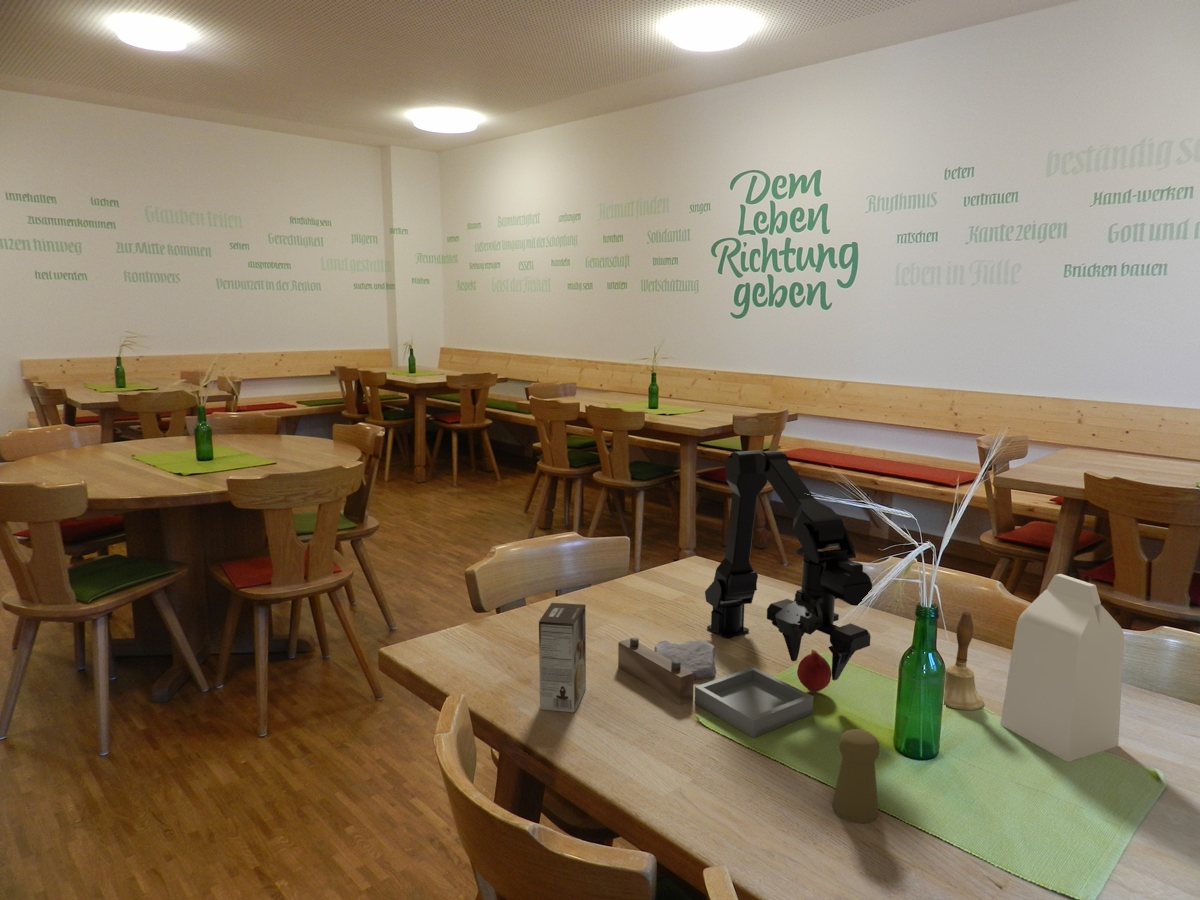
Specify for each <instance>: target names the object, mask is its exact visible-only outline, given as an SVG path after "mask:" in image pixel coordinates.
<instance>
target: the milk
mask: <svg viewBox="0 0 1200 900" xmlns="http://www.w3.org/2000/svg"><path fill="white" fill-rule="evenodd" d="M1124 647H1125V633H1124V630H1123V629H1122V627H1121V625H1120V624H1119V623H1118V622H1117V620H1115V618H1114V617H1113V616H1112V615H1111V614H1110V612H1108V611H1107V610H1106V608H1105V607H1104V606H1103V605H1102V601H1101V599H1100V595H1099V592H1098V588H1097V585H1096V584H1094V583H1090V582H1088V581H1084V580H1081V579H1077V578H1075V577H1071V576H1068V575H1065V574H1063V573H1057V574H1054V575H1053V577H1052V579H1051V581H1050V582H1049V584H1048V585H1047V586H1046V589H1045V590H1044V591H1042V592H1041V593H1040V595H1038V596H1037V598H1035V599H1034V600H1033V601H1032V602H1031V603H1030V604H1029V606H1027V607H1026V608H1025V609H1024V611H1022V613H1021V614H1020V615H1019V617H1018V619H1017V622H1016V625H1015V631H1014V638H1013V645H1012V650H1011V654H1010V655H1011V657H1010V662H1009V667H1008V668H1009V669H1008V675H1007V681H1006V687H1005V692H1004V700H1003V705H1002V710H1001V718H1000V721H999V722H1000V726H1001V727H1004V728H1005V729H1007V730H1009V731H1011V732H1013V733H1015V734H1017V735H1018V736H1020V737H1022V738H1024V739H1025V740H1027V741H1029V742H1031V743H1033V744H1034V745H1036V746H1038V747H1040V748H1041V749H1043V750H1046V751H1047V752H1048V753H1051V754H1053V755H1055V756H1056V757H1057V758H1060V759H1062V760H1063V761H1065V762H1066V763H1067V762H1071V761H1075V760H1077V759H1078V760H1079V759H1080V758H1084V757H1088V756H1090V755H1094V754H1098V753H1100V752H1103V751H1106V750H1111V749H1113V748H1117V747H1119V743H1120V742H1119V740H1120V739H1119V738H1120V723H1121V722H1120V720H1121V707H1122V706H1121V705H1122V704H1121V703H1122V702H1121V701H1122V688H1123V687H1122V683H1123V668H1124V667H1123V666H1124V649H1125V648H1124Z"/></svg>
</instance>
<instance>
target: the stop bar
mask: <svg viewBox="0 0 1200 900" xmlns="http://www.w3.org/2000/svg"><path fill="white" fill-rule="evenodd" d="M639 641H640V640H639V638H638V637H631V638H628V639H624V640H621V641H618V650H617V651H618V654H617V655H618V657H617V658H618V660H617V661H618V663H617V664H618V667H617V668H619V669H621V670H622V671H625V672H626V673H628V674H629V675H631V676H633V677H634V678H636V679H638V680H639V681H641V682H642V683H644V684H646V685H647V686H649V687H650V688H652V689H654V690H655V691H657V692H659V693H661V694H662V695H664V696H665V697H666V698H668V699H670V700H672V701H674V702H675V703H677V704H679V705H682V704H685V703H688V702H691V701H693V700H694V680H695V678H694V673H693V672H691V671H689V670H688V669H686V668H684V667H682V666H681V662H680V661H677V660H674V661H671V660H669V659H668V658H666V657H664V656H662V655H660V654H659V653H657V652H655V651H654V650H653V649H651V648H650V647H648V646H646V645H644V644H642V643H641V642H639Z"/></svg>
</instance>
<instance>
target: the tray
mask: <svg viewBox="0 0 1200 900" xmlns="http://www.w3.org/2000/svg"><path fill="white" fill-rule="evenodd" d="M814 697H815V696H813V695H811V694H809V693H807V692H805V691H803V690H801V689H799V688H797V687H796V686H793V685H791V684H789V683H787V682H785V681H783V680H782V679H779V678H777V677H775V676H773V675H771V674H769V673H767V672H765V671H763V670H761V669H759V668H757V667H755V666H751V667H748V668H745V669H742V670H740V671H739V670H738V671H737V672H733V673H730V674H727V675H724V676H722V677H719V678H716V679H713V680H710V681H707V682H705V683H702V684H699V685H697V686H694V703H695V705H698V706H699V707H701V708H703V709H704V710H706V711H708V712H710V713H711V714H713V715H714V716H716V717H718V718H719V719H720V720H723V721H724V722H726V723H727V724H730V725H731V726H733V727H734V728H736V729H738V730H739V731H740V732H743V733H744V734H746V735H748V736H750V737H751V738H753V739H754V738H757V737H759V736H761V735H765V734H766V733H769V732H771V731H774V730H776V729H778V728H781V727H783V726H786V725H788V724H790V723H793V722H795V721H797V720H799V719H802V718H804V717H807V716H809V715H811V714H813V712H814Z"/></svg>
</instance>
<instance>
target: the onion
mask: <svg viewBox="0 0 1200 900" xmlns="http://www.w3.org/2000/svg"><path fill="white" fill-rule="evenodd" d="M796 671H797V672H796V674H797V678H798V680H799V682H800V683H801V685H803V687H805V688H806V690H808V692H809V693H812V694H815V693H818V692H820V691H822V690H824V689H825V688H826V687H828V686H829V684H830V683H831V680H832V667H831V666H830V664H829V662H828V660H826V658H824V657H823V656H822V655H821V654H820V653H818V652H817V650H816V649H814V648H813V649H811V653H810V654H808V655H806V656H804V657H803V658H802V659H801V661H800V662H799V663H798V667H797V670H796Z"/></svg>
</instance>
